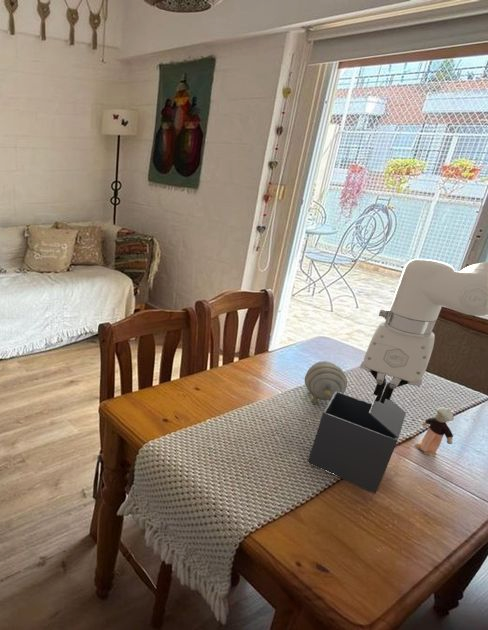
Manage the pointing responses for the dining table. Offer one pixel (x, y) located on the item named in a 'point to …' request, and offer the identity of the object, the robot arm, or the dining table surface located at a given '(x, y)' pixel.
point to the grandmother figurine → (436, 432)
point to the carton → (352, 443)
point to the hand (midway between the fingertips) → (380, 399)
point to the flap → (388, 415)
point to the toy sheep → (325, 380)
